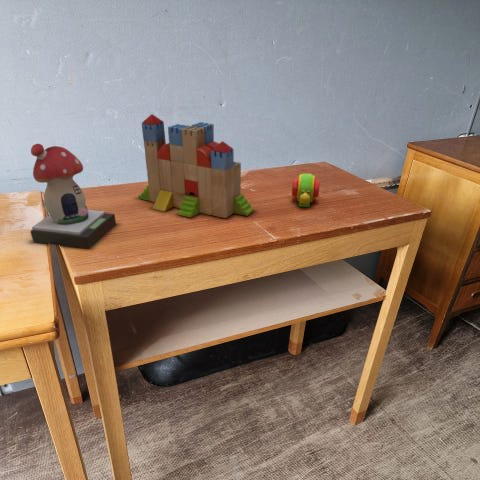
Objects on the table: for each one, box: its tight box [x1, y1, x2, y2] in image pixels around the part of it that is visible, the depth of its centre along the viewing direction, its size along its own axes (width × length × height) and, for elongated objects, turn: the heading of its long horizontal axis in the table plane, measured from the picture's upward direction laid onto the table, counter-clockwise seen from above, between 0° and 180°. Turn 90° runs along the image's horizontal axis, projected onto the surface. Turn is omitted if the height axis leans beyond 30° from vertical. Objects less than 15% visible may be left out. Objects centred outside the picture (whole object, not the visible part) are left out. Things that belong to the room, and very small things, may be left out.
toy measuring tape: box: [291, 173, 321, 208], centre depth 109 cm, size 6×20×7 cm, turn 171°
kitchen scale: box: [30, 209, 117, 249], centre depth 90 cm, size 12×12×3 cm
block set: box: [138, 113, 255, 219], centre depth 99 cm, size 28×14×19 cm, turn 61°
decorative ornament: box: [30, 143, 89, 224], centre depth 85 cm, size 9×6×15 cm
